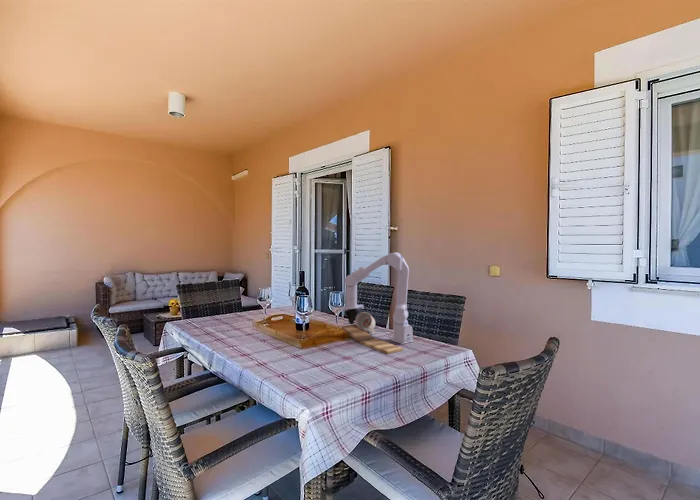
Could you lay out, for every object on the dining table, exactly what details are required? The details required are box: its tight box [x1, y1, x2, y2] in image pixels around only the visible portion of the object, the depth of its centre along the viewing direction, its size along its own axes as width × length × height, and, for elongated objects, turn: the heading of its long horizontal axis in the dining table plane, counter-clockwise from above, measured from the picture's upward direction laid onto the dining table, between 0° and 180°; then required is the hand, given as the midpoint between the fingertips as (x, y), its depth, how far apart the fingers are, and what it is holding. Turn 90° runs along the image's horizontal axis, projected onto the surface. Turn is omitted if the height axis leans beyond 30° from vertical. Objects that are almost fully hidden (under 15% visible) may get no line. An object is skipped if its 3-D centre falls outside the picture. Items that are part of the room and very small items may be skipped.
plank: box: [341, 323, 375, 344], centre depth 186 cm, size 16×9×2 cm, turn 36°
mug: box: [354, 311, 376, 335], centre depth 195 cm, size 12×9×11 cm
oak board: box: [359, 336, 404, 355], centre depth 172 cm, size 20×9×2 cm, turn 36°
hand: (351, 323), depth 191 cm, fingers closed
